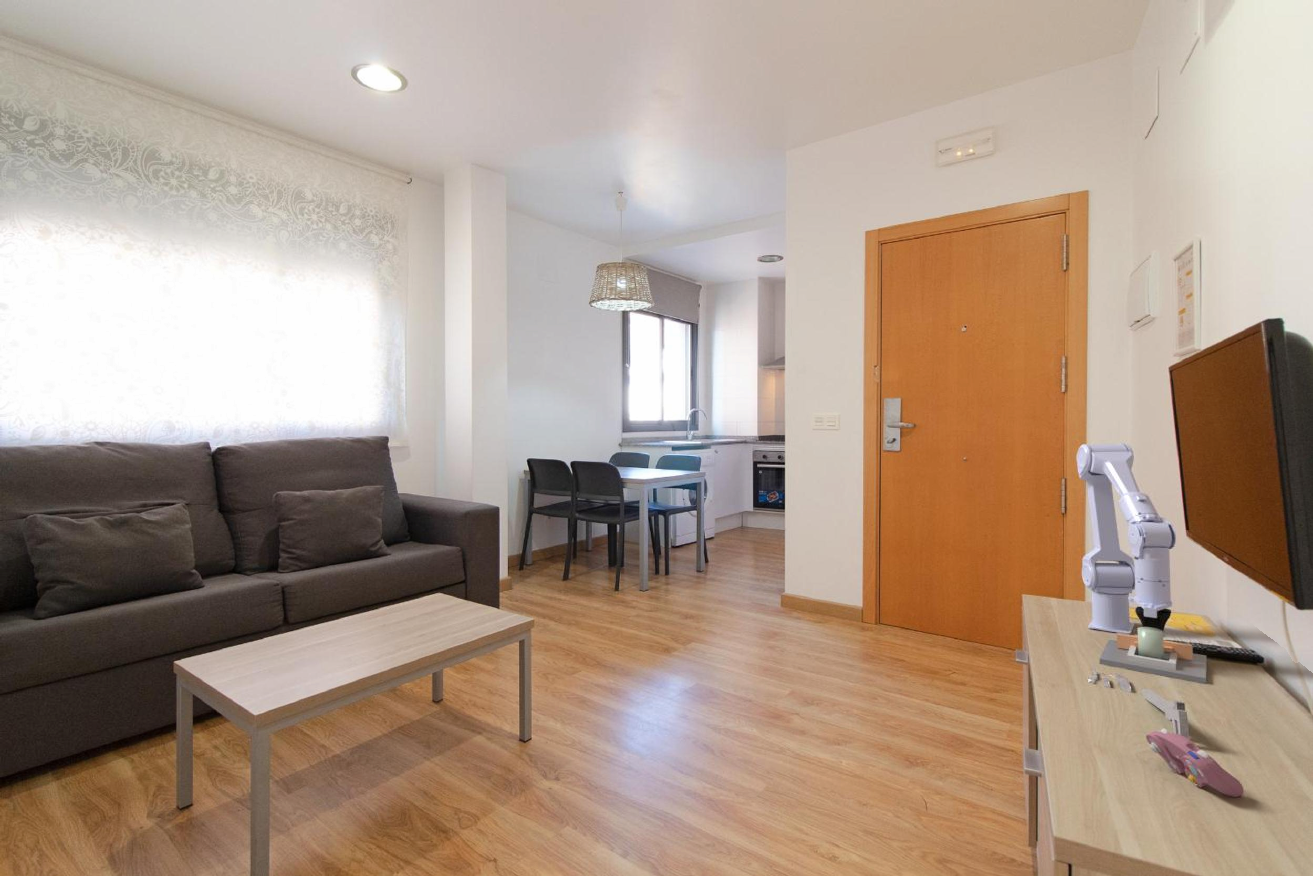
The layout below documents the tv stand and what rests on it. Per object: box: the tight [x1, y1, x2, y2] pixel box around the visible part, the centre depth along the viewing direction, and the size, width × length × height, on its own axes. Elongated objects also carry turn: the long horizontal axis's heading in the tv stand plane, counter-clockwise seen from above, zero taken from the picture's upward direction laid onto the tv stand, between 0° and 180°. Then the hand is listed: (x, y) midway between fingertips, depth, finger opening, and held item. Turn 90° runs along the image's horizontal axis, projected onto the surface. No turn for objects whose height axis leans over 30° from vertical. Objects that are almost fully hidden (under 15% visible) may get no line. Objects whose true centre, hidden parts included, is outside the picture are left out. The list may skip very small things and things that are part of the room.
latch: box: [1116, 633, 1194, 660], centre depth 124 cm, size 2×12×3 cm, turn 47°
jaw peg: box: [1137, 626, 1164, 660], centre depth 121 cm, size 4×4×6 cm
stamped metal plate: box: [1086, 668, 1132, 693], centre depth 114 cm, size 8×7×2 cm
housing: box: [1099, 639, 1208, 685], centre depth 123 cm, size 15×16×2 cm
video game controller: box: [1145, 728, 1244, 798], centre depth 82 cm, size 10×5×7 cm, turn 0°
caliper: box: [1140, 688, 1190, 739], centre depth 100 cm, size 20×1×6 cm, turn 155°
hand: (1154, 643), depth 126 cm, fingers closed
